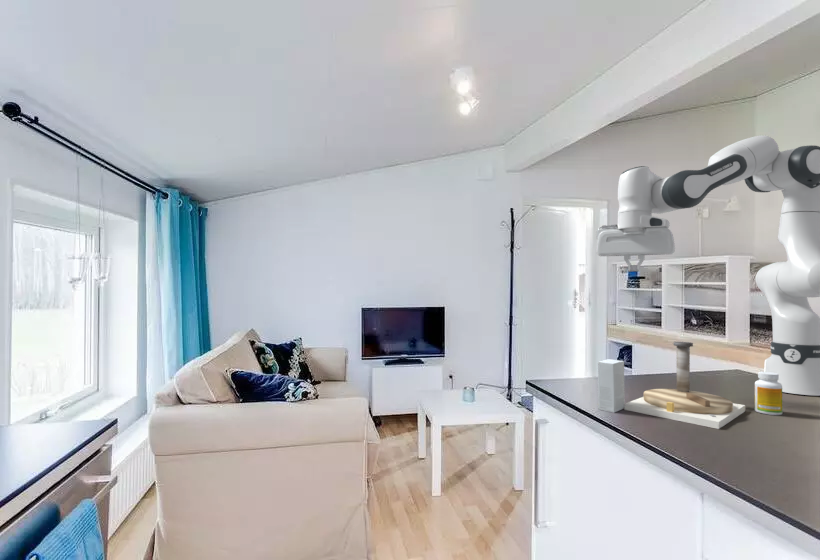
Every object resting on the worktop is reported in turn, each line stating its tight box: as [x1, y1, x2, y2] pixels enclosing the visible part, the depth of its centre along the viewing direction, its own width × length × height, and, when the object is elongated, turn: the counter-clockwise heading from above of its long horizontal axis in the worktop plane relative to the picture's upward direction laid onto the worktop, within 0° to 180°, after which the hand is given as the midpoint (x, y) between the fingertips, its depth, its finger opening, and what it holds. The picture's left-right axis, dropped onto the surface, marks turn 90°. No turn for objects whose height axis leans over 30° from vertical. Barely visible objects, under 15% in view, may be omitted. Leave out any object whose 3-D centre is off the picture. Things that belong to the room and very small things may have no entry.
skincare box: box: [597, 358, 625, 413], centre depth 114 cm, size 6×4×12 cm
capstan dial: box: [643, 341, 734, 414], centre depth 114 cm, size 19×19×14 cm
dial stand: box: [624, 396, 746, 430], centre depth 113 cm, size 22×20×4 cm
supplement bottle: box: [754, 371, 783, 416], centre depth 112 cm, size 5×5×10 cm
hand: (634, 271), depth 132 cm, fingers closed
